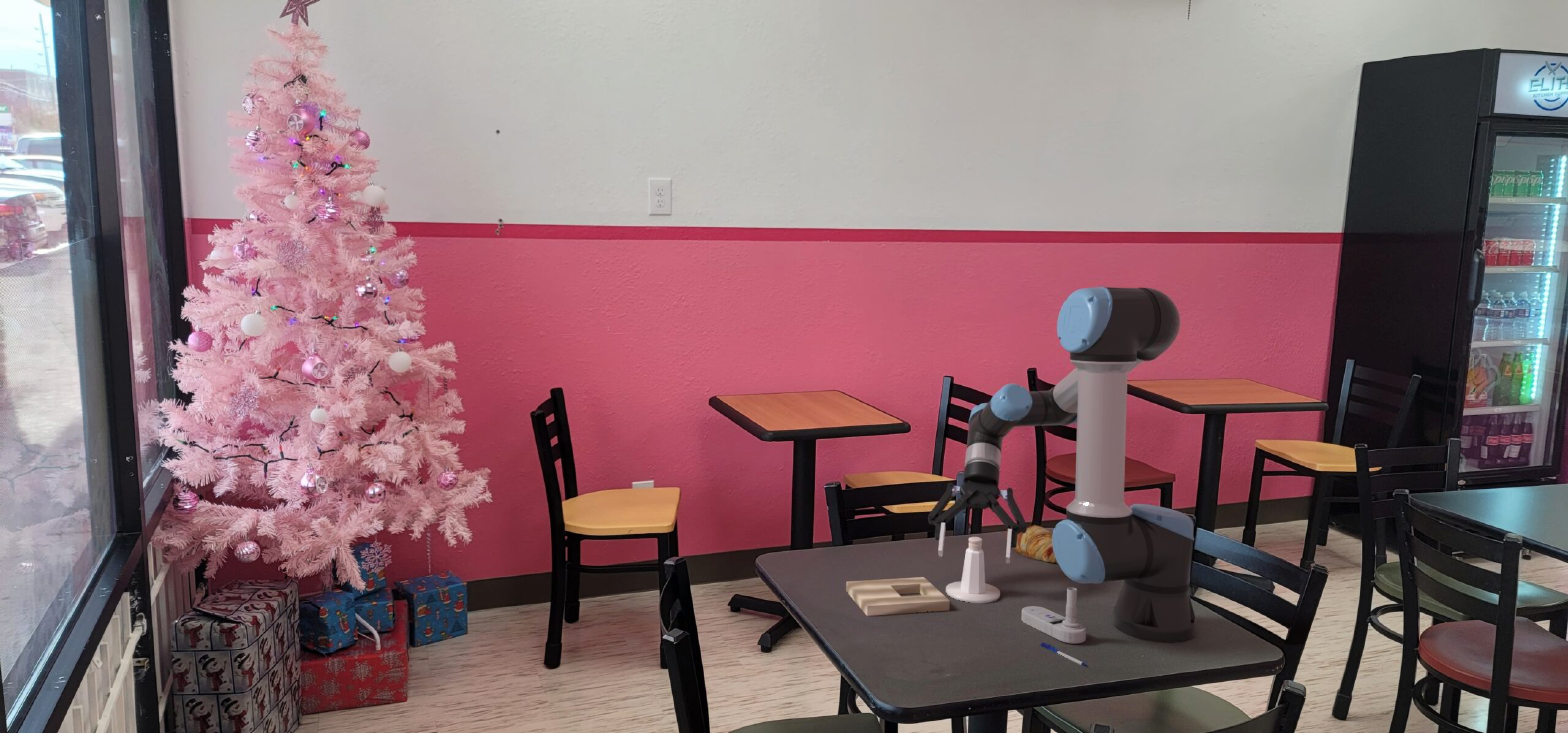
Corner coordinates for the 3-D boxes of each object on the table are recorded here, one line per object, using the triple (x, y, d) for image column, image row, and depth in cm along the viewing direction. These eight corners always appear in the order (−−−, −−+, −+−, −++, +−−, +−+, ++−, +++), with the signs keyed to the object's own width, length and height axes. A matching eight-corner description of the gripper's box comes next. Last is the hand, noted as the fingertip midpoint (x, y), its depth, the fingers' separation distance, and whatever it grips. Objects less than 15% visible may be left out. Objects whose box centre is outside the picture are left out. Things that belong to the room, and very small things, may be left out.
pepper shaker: (966, 595, 208) (968, 543, 207) (955, 586, 213) (957, 535, 212) (990, 593, 209) (993, 541, 208) (979, 584, 215) (981, 533, 213)
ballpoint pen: (1038, 647, 185) (1039, 641, 185) (1042, 646, 186) (1042, 640, 186) (1084, 668, 177) (1085, 662, 177) (1088, 667, 177) (1088, 661, 177)
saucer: (1009, 601, 207) (1009, 597, 207) (958, 605, 205) (958, 601, 205) (986, 583, 218) (986, 579, 218) (937, 586, 215) (937, 582, 215)
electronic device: (1038, 568, 200) (1093, 591, 186) (1037, 617, 201) (1091, 643, 188) (1017, 572, 197) (1071, 595, 184) (1015, 621, 198) (1069, 647, 185)
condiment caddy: (949, 610, 202) (949, 600, 201) (867, 615, 198) (867, 606, 197) (923, 586, 215) (923, 577, 215) (846, 591, 211) (846, 581, 211)
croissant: (1078, 581, 232) (1092, 549, 232) (1051, 566, 226) (1065, 533, 227) (1013, 552, 250) (1027, 523, 250) (987, 538, 244) (1001, 508, 245)
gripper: (1040, 483, 221) (1035, 571, 209) (925, 473, 227) (913, 559, 215) (1042, 464, 215) (1037, 554, 203) (923, 455, 221) (911, 542, 209)
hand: (973, 557), depth 209 cm, fingers open, 13 cm apart
